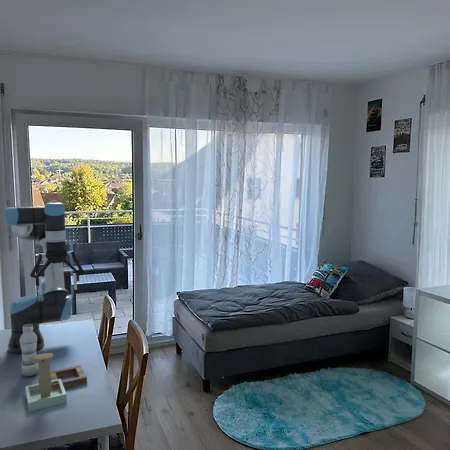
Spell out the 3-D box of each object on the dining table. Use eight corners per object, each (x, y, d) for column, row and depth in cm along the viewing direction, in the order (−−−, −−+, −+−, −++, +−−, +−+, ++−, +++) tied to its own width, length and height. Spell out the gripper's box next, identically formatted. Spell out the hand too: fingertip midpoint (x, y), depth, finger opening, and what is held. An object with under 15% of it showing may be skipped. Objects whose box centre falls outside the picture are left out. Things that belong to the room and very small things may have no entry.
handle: (55, 398, 146) (53, 357, 145) (35, 401, 144) (32, 360, 143) (55, 392, 151) (54, 352, 149) (36, 394, 149) (34, 354, 147)
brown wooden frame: (48, 378, 163) (48, 372, 163) (80, 371, 169) (80, 365, 169) (53, 391, 153) (52, 384, 152) (87, 383, 159) (86, 377, 158)
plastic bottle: (19, 379, 162) (16, 329, 160) (23, 371, 168) (20, 323, 166) (37, 377, 164) (35, 328, 162) (40, 369, 170) (38, 322, 168)
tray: (25, 394, 150) (25, 386, 150) (60, 386, 156) (60, 378, 156) (28, 411, 139) (28, 403, 139) (66, 402, 145) (66, 393, 145)
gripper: (22, 244, 161) (25, 297, 164) (89, 239, 173) (91, 289, 176) (21, 241, 168) (24, 293, 170) (85, 237, 180) (87, 285, 182)
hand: (58, 291), depth 173 cm, fingers open, 13 cm apart
